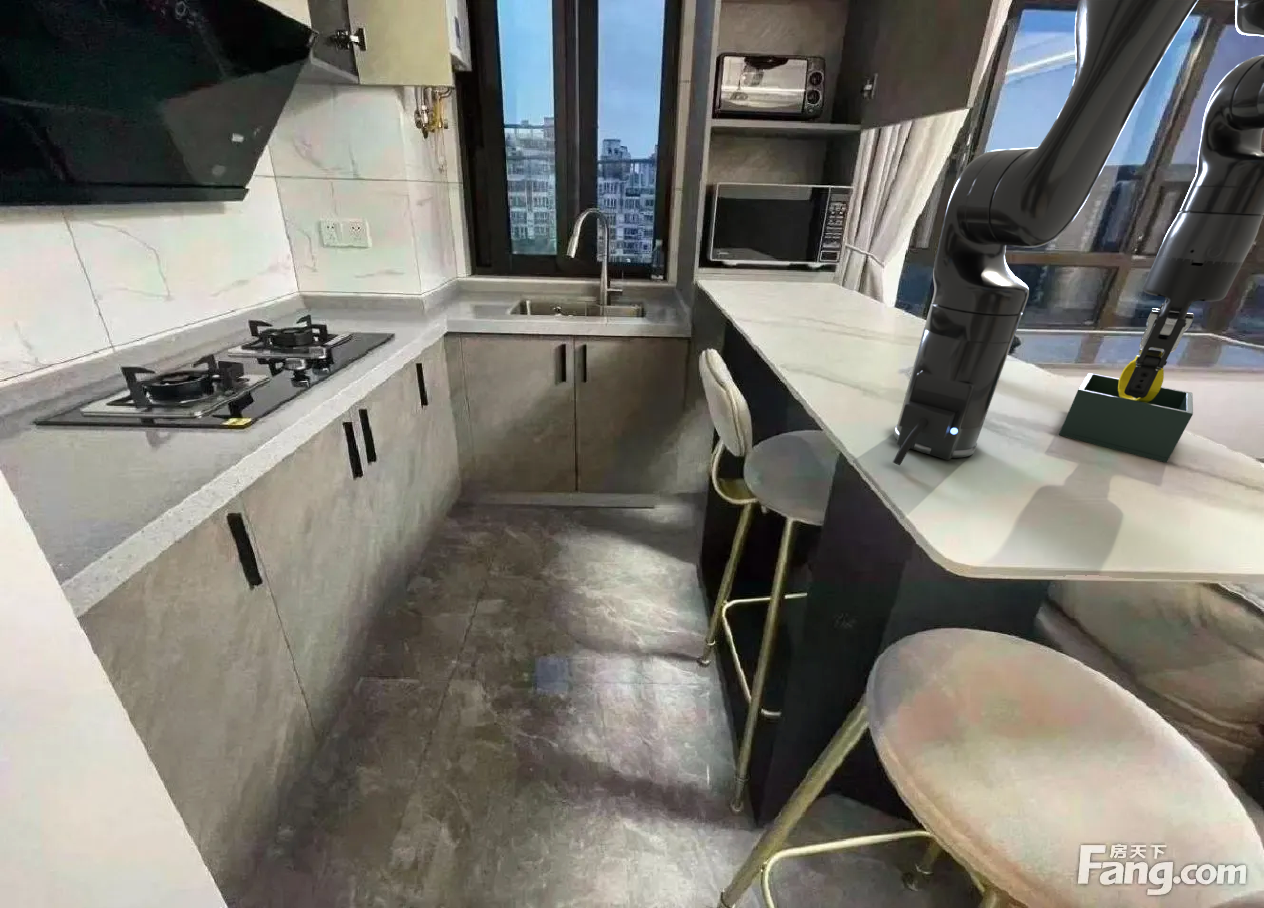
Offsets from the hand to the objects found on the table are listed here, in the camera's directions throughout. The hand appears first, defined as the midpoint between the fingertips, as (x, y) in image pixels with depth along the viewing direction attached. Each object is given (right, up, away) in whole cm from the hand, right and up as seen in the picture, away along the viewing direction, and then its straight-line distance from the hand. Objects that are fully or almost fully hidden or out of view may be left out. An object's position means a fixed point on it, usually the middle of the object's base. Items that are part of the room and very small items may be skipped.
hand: (1135, 389), depth 71 cm
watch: (0, -2, +1) cm, 2 cm away
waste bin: (0, -6, +3) cm, 7 cm away
